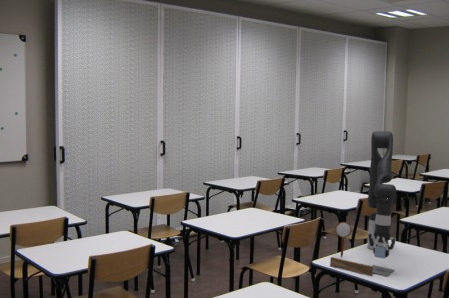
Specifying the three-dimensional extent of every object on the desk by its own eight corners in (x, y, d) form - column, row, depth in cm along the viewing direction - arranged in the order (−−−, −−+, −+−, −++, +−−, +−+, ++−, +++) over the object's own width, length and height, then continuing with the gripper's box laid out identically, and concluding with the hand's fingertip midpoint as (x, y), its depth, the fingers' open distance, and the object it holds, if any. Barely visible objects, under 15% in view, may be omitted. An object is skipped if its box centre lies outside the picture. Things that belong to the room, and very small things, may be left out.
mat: (373, 265, 259) (373, 264, 259) (394, 270, 253) (394, 269, 253) (365, 271, 250) (365, 270, 250) (387, 276, 244) (387, 275, 244)
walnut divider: (331, 265, 258) (331, 257, 258) (372, 275, 245) (373, 266, 245) (330, 266, 257) (330, 257, 256) (371, 276, 244) (371, 267, 244)
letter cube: (377, 254, 254) (378, 244, 253) (387, 256, 251) (388, 246, 251) (374, 256, 250) (375, 246, 249) (384, 258, 247) (384, 248, 246)
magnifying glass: (334, 257, 271) (336, 222, 269) (333, 256, 273) (335, 221, 270) (349, 257, 271) (351, 222, 269) (349, 256, 273) (351, 221, 271)
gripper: (399, 224, 248) (397, 256, 249) (371, 219, 256) (369, 251, 258) (395, 227, 242) (392, 260, 243) (366, 222, 250) (364, 254, 252)
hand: (380, 255), depth 251 cm, fingers closed on letter cube, 5 cm apart
